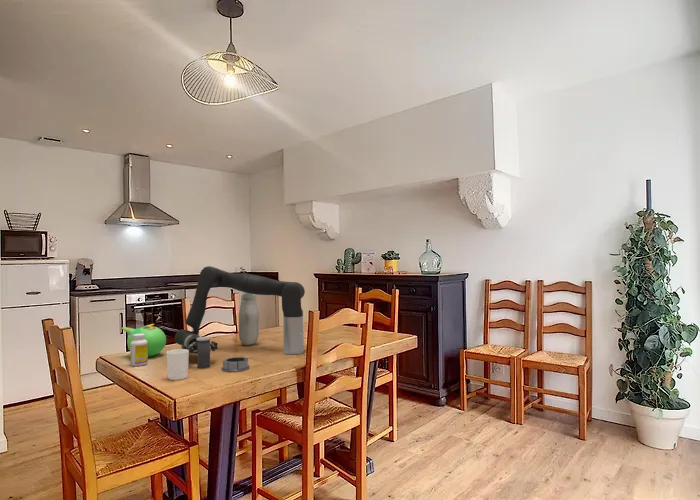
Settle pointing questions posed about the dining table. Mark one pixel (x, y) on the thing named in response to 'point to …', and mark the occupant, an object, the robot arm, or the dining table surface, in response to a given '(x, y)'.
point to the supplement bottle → (138, 350)
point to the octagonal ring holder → (235, 364)
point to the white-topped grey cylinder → (203, 352)
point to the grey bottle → (248, 319)
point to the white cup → (177, 364)
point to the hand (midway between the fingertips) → (203, 349)
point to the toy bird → (149, 338)
